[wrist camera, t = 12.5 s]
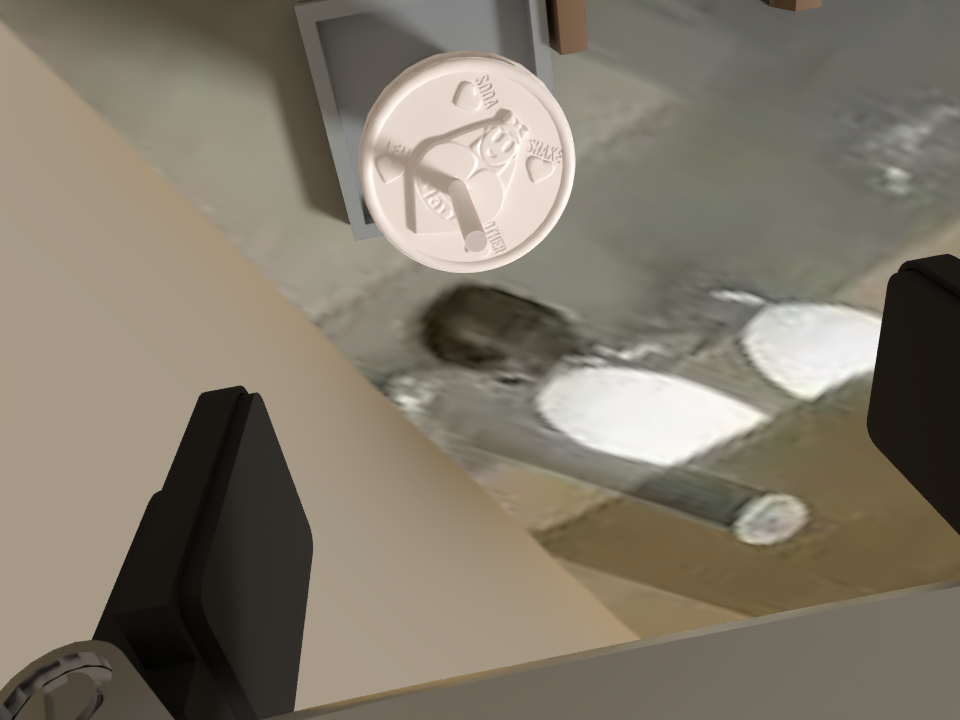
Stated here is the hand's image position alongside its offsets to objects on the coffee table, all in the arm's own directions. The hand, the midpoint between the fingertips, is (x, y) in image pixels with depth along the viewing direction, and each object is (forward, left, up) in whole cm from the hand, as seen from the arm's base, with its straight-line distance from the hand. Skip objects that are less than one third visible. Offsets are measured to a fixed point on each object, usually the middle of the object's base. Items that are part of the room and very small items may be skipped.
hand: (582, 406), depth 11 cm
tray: (+1, 0, -22) cm, 22 cm away
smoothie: (+1, 0, -22) cm, 22 cm away
